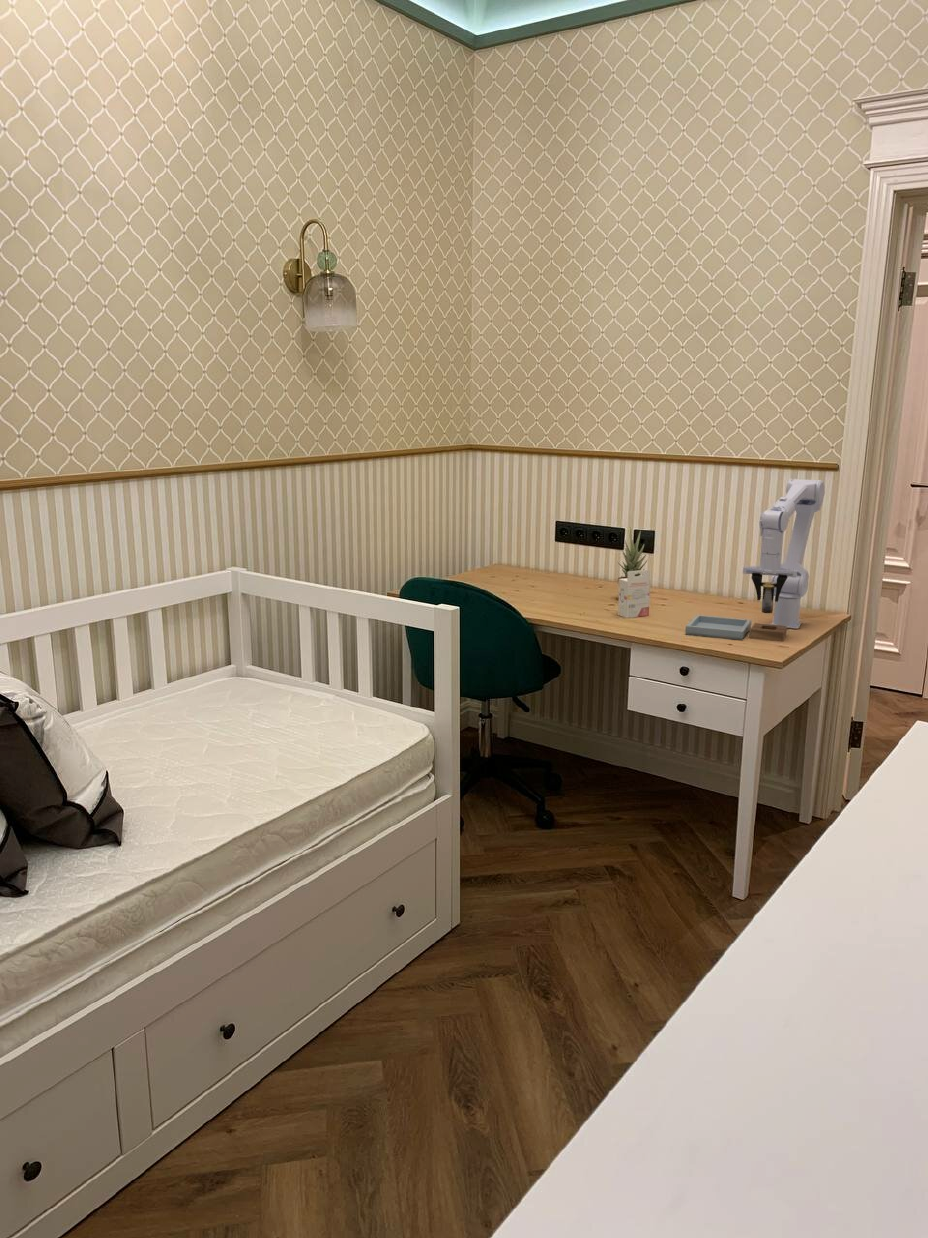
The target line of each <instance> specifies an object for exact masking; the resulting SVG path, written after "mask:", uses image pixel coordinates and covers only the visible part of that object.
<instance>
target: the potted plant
mask: <svg viewBox="0 0 928 1238" xmlns="http://www.w3.org/2000/svg"><path fill="white" fill-rule="evenodd" d="M640 539H641V530H639V533H638V535H637V539H636V542H635V543H634V540H633V537H632V528H630V530H629V544H630V545H628V542H627V541H626V539H624V542H625V543H624V544H625V548H624V550H623V549H622V551H621V552H622V555H623V558H624V560H625V562H626V563H625V562H624V561H622V564H620V563H619V562H617V564H618V566H620V568H621V569H622V572H623V574H624V576H620V577H617V578H616V583H617V584H618V585H619V579H624V578H627V572H628V571H638V570H646V569H645V568H643V567H644V566H645V565H646V563H647V562H648V559H646V560H645V558H646V557H647V554H645V555H643V557H641V555H642V553H643V551H644V548H645V543H643V545H642V547H640V549H639V542H640ZM629 546H630V548H629ZM624 551H625V552H624ZM640 557H641V559H640ZM644 560H645V562H644V563H643V561H644ZM642 563H643V564H642ZM635 576H641V574H639V573H638V574H635Z"/></svg>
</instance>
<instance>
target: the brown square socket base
mask: <svg viewBox="0 0 928 1238" xmlns="http://www.w3.org/2000/svg"><path fill="white" fill-rule="evenodd" d="M787 630H788V628H787V626H783V625H772V624H771V623H760V622H754V623H753V625H751V629H750V630H749V639H756V640H757V639H758V640H764V641H776V642H784V640H785V638H786V636H787V633H788V632H787Z"/></svg>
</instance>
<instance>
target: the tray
mask: <svg viewBox="0 0 928 1238" xmlns="http://www.w3.org/2000/svg"><path fill="white" fill-rule="evenodd" d="M751 628H752V619H745V618H733V617H726V616H725V617H723V616H714V615H703V614H702V615H701V614H700V615H699V614H696V615H695V616H694V617H693V618H692V619H691V620H690V621H689V622H688V623H687V624H686V626H685V635H687V636H694V637H695V636H696V637H706V638H713V639H714V638H718V639H726V640H734V641H735V640H736V641H743V640H744V639H745V637H746V636H747V634H748V633H749V632H750V629H751Z"/></svg>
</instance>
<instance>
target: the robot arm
mask: <svg viewBox="0 0 928 1238" xmlns="http://www.w3.org/2000/svg"><path fill="white" fill-rule="evenodd" d="M825 488H826V487H825V483H824V481H823V479H818V480H817V479H803V478H802V479H801V478H795V477H794V478H792V477H791V478H790V479H789V480H788V481H787V483H786V488H785V495H784V496H780V498H778V499H777V500H776V501H775V503H773V505H772V506H771V507H770V509H766V510H764V511H762V512H761V513H760V517H759V535H760V537H761V545H760V546H761V547H760V557H759V566H750V565H749V566H748V565H745V566H742V568H743V569H742V574H743V575H747V574H748V575H751V580H752V583H753V585H754V588H755V591H756V599H757V601H761V599H762V586H761V582H763V576H771V577H770V580H769V582H775V583H777V587H774V605H773V620H772V621H771V622H770V624H772V625H783V626H787V629H794V630H795V629H796V630H797V629H800V626H801V624H802V620H800V611H801V609H800V607H801V598H802V597H804V596H805V595H806V594H807V591H808V588H809V577H810V575H809V572H808V570H807V569H806V568H805V567H804V566H803V560H804V556H805V552H806V548H807V545H808V543H807V542H808V538H809V535H810V530H811V527H812V523H813V519H814V517H815V516H814V515H815V513H816V512H818V511H820V510H821V508H822V505H823V501H824V498H825V493H826V492H825V491H826V490H825ZM795 512H796V514H795V519H794V522H793V528H792V531H791V535H790V540H789V543H788V547H787V552H786V556H785V560H784V562H782V559H783V558H782V557H783V547H784V545H783V544H784V532H785V531H786V530H787V527H788V524H789V521H790V518H791V517H792V515H793V514H794V513H795Z"/></svg>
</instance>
